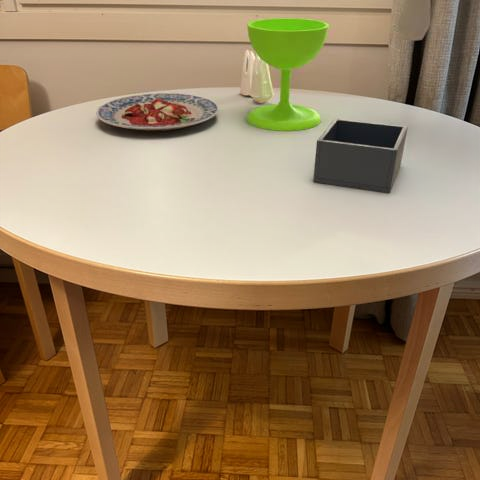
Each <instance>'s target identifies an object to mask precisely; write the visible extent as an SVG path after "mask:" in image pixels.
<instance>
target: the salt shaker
mask: <svg viewBox="0 0 480 480" xmlns="http://www.w3.org/2000/svg"><path fill="white" fill-rule="evenodd" d="M431 6H432V5H431V0H403V3H402V6H401V8H400V9H401V10H400V13H399V16H398V20H397V22H396V23H397V24H396V29H397V31H398V38H399V39H400V40H403V41H423V39H424V37H425V36H426V34H427V32H428V30H429V28H430V27H431Z"/></svg>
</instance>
